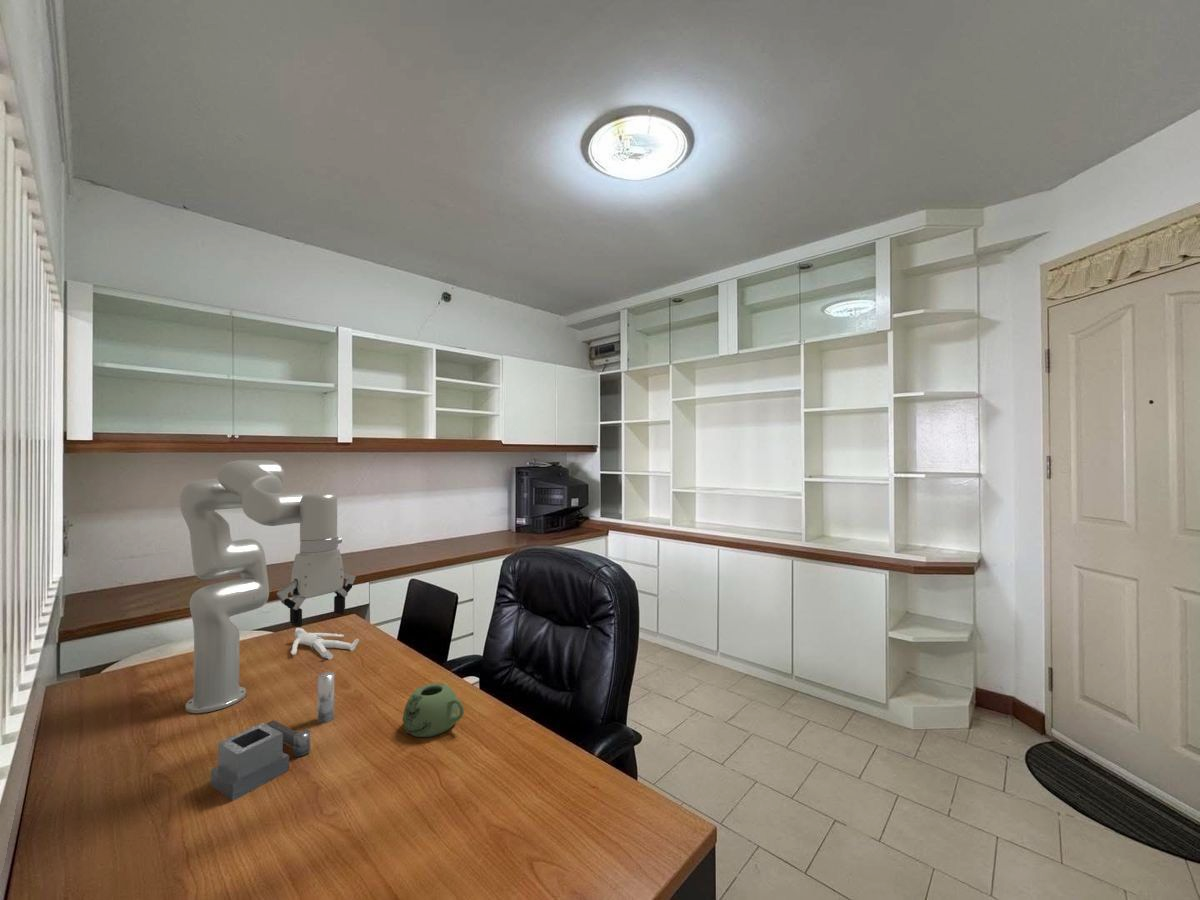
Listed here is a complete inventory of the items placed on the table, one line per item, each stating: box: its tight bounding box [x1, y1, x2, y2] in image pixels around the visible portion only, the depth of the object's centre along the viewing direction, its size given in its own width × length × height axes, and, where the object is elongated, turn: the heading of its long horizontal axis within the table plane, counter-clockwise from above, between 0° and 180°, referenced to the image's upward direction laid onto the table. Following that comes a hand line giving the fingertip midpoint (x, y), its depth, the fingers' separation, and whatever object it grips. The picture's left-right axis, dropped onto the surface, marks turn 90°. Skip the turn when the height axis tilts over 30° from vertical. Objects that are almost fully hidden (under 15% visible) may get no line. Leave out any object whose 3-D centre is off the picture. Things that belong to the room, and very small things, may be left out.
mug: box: [402, 682, 465, 738], centre depth 113 cm, size 16×13×9 cm
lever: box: [265, 719, 311, 758], centre depth 106 cm, size 16×3×4 cm, turn 61°
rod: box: [316, 671, 335, 724], centre depth 117 cm, size 4×4×11 cm
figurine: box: [289, 627, 360, 660], centre depth 161 cm, size 6×19×25 cm
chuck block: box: [210, 722, 290, 801], centre depth 95 cm, size 9×10×8 cm
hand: (318, 619), depth 109 cm, fingers open, 9 cm apart
